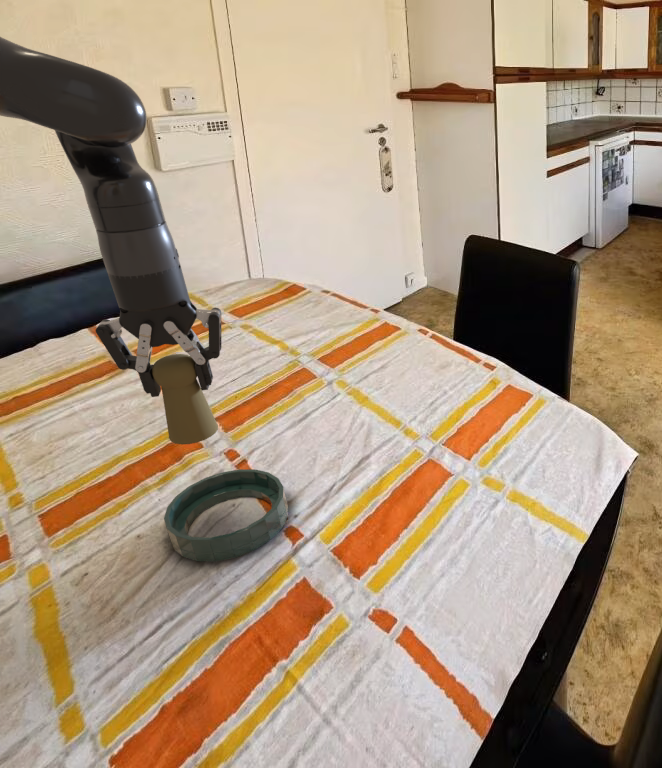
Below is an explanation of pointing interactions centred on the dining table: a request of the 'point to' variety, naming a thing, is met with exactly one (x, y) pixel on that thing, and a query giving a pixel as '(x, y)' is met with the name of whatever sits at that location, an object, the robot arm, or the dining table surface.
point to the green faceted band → (218, 491)
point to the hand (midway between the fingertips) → (181, 390)
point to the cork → (183, 400)
